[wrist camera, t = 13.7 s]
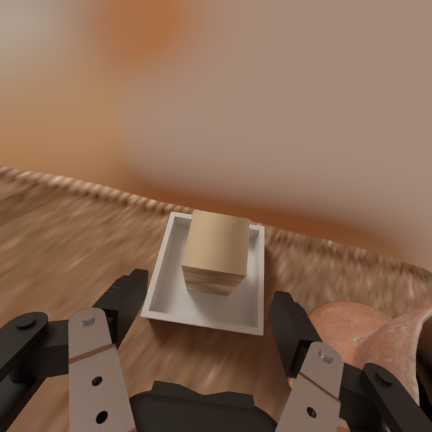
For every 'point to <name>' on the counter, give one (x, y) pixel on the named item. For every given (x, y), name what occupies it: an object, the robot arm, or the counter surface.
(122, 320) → the robot arm
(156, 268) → the tray
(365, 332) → the ceramic jug
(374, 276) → the counter surface
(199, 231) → the block
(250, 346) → the counter surface
